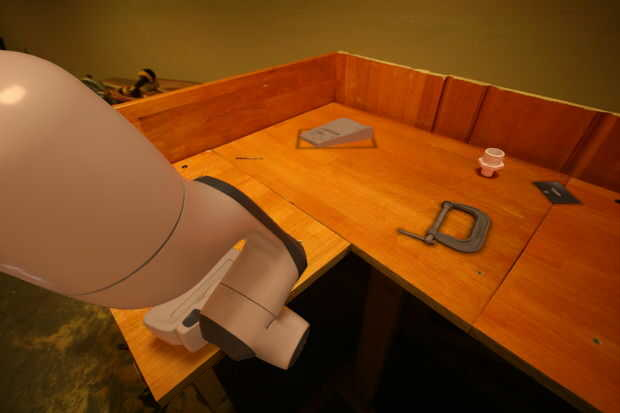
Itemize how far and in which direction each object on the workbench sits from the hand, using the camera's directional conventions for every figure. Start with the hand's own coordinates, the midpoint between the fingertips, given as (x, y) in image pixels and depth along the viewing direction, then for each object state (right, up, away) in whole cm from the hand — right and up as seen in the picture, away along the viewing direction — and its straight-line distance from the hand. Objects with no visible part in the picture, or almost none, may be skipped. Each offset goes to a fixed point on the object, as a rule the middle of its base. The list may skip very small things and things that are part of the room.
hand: (172, 271), depth 59 cm
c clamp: (+62, +7, +18) cm, 64 cm away
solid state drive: (+96, +16, +27) cm, 101 cm away
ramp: (+36, +38, +57) cm, 78 cm away
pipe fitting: (+82, +22, +35) cm, 92 cm away
